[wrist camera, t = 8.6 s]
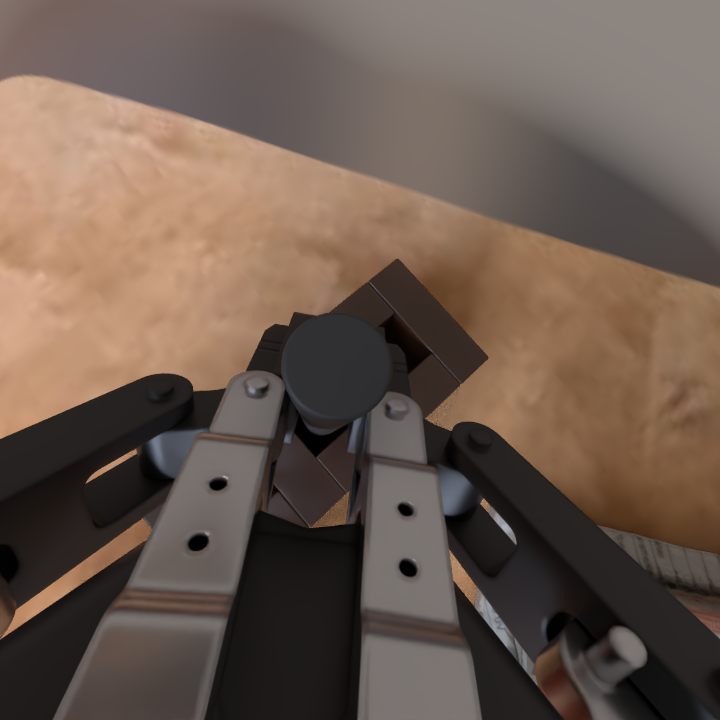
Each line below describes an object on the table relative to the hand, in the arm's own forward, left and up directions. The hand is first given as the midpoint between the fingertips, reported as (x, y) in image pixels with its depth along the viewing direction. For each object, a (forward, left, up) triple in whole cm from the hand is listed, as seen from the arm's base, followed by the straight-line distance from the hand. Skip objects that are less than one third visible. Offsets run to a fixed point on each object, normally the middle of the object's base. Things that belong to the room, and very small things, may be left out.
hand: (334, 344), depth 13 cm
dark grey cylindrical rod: (+2, +1, -7) cm, 7 cm away
